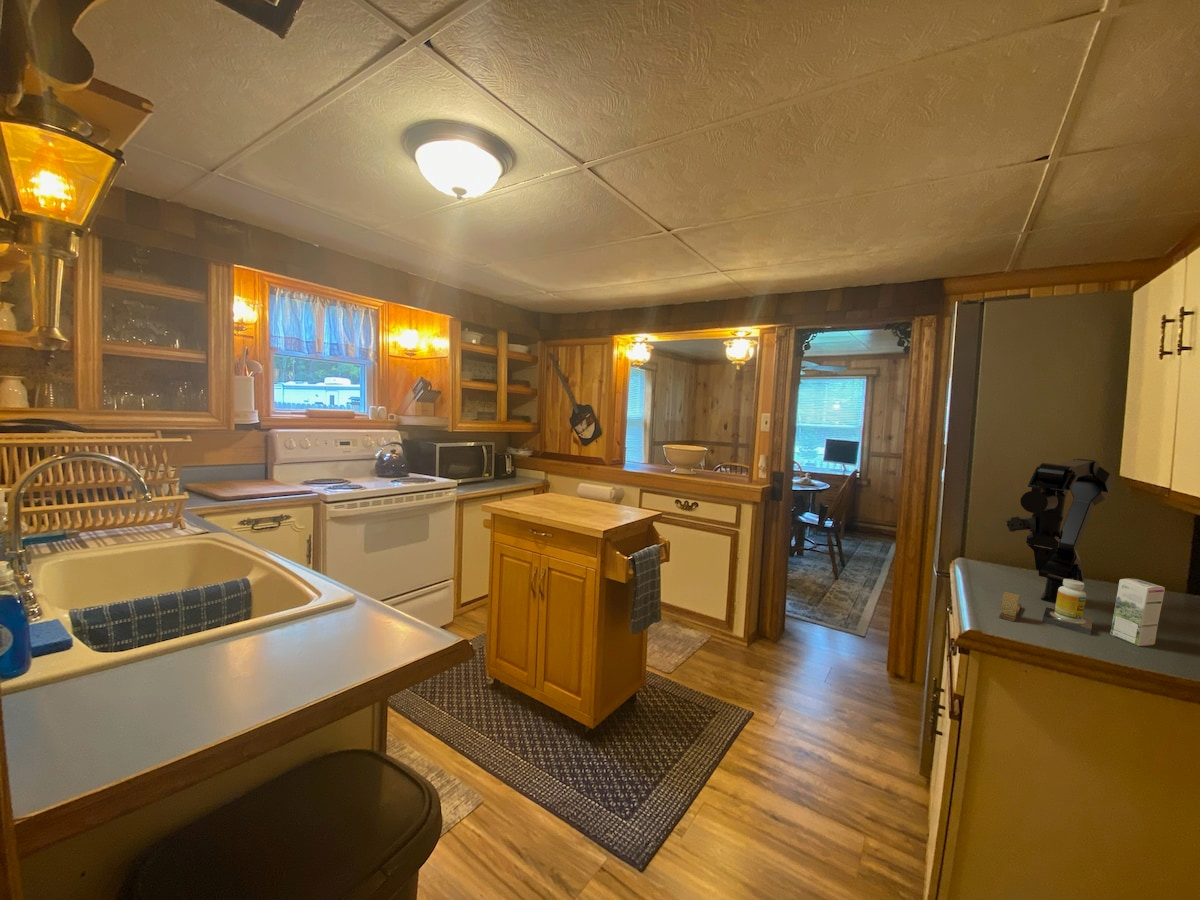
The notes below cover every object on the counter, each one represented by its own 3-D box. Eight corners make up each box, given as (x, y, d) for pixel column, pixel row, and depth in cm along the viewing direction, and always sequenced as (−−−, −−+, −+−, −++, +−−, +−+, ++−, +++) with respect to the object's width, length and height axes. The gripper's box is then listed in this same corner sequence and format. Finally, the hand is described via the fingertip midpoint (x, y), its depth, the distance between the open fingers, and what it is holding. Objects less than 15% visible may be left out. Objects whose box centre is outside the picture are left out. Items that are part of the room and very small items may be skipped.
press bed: (1045, 612, 137) (1046, 606, 136) (1091, 624, 130) (1092, 618, 130) (1042, 621, 130) (1043, 615, 130) (1090, 634, 124) (1091, 628, 124)
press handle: (1002, 609, 134) (1004, 591, 133) (1016, 613, 132) (1019, 595, 131) (1000, 612, 132) (1003, 594, 131) (1015, 616, 129) (1018, 598, 129)
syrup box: (1155, 645, 120) (1167, 586, 119) (1137, 646, 119) (1148, 587, 117) (1126, 633, 126) (1136, 577, 124) (1108, 634, 125) (1118, 578, 123)
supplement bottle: (1057, 611, 134) (1063, 576, 133) (1085, 619, 129) (1091, 583, 128) (1050, 615, 131) (1056, 579, 130) (1078, 623, 126) (1084, 586, 125)
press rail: (1007, 603, 141) (1007, 600, 141) (1020, 607, 139) (1021, 604, 139) (999, 617, 131) (1000, 614, 131) (1014, 621, 129) (1014, 618, 129)
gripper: (1015, 500, 148) (1007, 552, 150) (1006, 508, 135) (997, 565, 136) (1066, 508, 140) (1057, 562, 142) (1062, 517, 127) (1052, 577, 129)
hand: (1040, 566), depth 137 cm, fingers open, 9 cm apart
